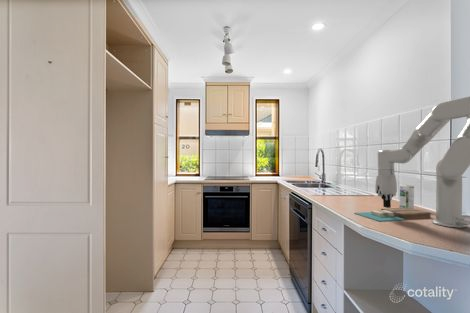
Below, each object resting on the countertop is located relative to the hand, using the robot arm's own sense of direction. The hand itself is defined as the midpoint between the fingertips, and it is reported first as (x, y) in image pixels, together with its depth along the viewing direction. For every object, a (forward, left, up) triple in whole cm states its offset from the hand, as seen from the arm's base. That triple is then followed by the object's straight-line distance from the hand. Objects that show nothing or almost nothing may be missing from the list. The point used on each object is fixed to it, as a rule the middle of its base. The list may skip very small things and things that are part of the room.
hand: (387, 207), depth 138 cm
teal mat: (+1, +5, -5) cm, 7 cm away
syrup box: (+17, -30, -5) cm, 35 cm away
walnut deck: (+1, -12, -5) cm, 13 cm away
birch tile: (+1, +1, -5) cm, 5 cm away
